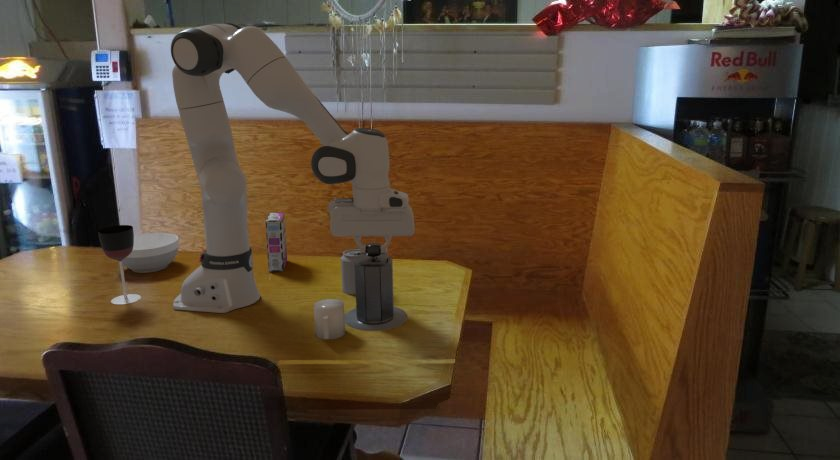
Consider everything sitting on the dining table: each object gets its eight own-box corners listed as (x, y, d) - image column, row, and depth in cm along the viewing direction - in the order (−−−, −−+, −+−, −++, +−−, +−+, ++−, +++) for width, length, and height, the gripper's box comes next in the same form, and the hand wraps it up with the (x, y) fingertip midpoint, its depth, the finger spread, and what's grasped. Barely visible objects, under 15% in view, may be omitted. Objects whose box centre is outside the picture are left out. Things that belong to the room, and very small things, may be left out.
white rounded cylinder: (311, 347, 140) (309, 314, 138) (318, 329, 149) (316, 299, 147) (342, 346, 140) (340, 314, 138) (347, 329, 149) (345, 298, 147)
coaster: (339, 333, 147) (339, 330, 147) (347, 307, 162) (347, 304, 162) (406, 333, 147) (406, 330, 146) (408, 307, 162) (408, 304, 162)
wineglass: (149, 295, 172) (139, 226, 166) (122, 307, 164) (112, 235, 159) (128, 291, 175) (118, 223, 170) (102, 302, 167) (90, 231, 162)
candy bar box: (285, 271, 190) (281, 220, 186) (268, 272, 190) (264, 221, 185) (288, 260, 201) (285, 211, 196) (272, 261, 200) (269, 212, 196)
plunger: (361, 299, 150) (359, 248, 146) (363, 289, 156) (361, 241, 152) (386, 298, 150) (385, 248, 146) (387, 289, 156) (386, 241, 152)
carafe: (355, 324, 150) (352, 264, 146) (360, 306, 161) (357, 249, 157) (392, 324, 150) (391, 263, 146) (395, 305, 161) (393, 248, 157)
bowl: (167, 277, 186) (163, 249, 184) (105, 277, 187) (101, 250, 184) (190, 257, 205) (187, 232, 202) (134, 258, 205) (130, 232, 203)
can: (365, 298, 169) (363, 256, 165) (338, 296, 170) (336, 255, 167) (372, 288, 176) (371, 248, 172) (347, 286, 177) (345, 247, 174)
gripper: (325, 200, 143) (328, 257, 147) (413, 200, 143) (414, 256, 147) (329, 195, 149) (332, 249, 153) (414, 194, 149) (415, 249, 153)
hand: (373, 253), depth 150 cm, fingers open, 4 cm apart
